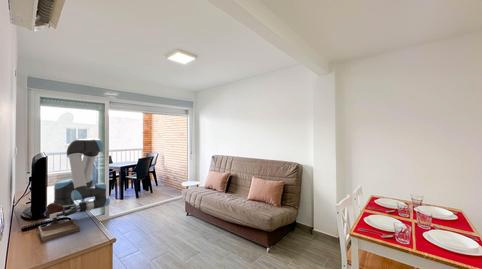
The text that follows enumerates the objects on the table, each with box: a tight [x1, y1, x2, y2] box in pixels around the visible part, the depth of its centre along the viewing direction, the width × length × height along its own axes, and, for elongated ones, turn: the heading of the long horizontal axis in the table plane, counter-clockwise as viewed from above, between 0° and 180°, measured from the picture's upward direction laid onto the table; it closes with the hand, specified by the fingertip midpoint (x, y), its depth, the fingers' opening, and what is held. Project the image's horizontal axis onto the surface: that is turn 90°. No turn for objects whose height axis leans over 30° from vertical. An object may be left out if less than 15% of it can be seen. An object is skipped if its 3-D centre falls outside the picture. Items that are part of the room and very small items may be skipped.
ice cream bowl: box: [44, 202, 66, 225], centre depth 147 cm, size 11×11×15 cm
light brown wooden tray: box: [38, 219, 81, 243], centre depth 135 cm, size 18×18×3 cm
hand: (48, 214), depth 144 cm, fingers open, 12 cm apart
